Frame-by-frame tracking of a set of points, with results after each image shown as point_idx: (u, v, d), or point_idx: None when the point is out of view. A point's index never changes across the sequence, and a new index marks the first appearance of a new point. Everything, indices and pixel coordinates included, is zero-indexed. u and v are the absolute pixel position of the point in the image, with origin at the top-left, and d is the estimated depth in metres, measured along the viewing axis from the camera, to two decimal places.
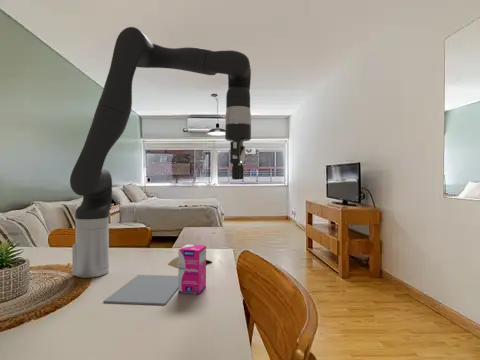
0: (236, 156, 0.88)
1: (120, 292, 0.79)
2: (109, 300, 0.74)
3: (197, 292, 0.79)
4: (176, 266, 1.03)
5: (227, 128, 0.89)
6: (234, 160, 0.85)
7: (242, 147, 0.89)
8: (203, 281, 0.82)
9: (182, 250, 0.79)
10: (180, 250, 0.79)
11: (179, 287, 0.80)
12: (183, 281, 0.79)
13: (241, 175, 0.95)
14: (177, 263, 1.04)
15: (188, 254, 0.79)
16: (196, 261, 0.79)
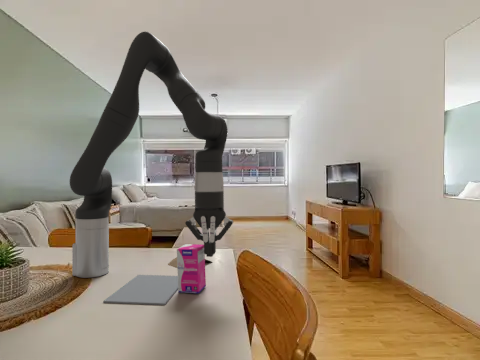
0: (194, 227, 0.82)
1: (120, 292, 0.79)
2: (109, 300, 0.74)
3: (197, 291, 0.79)
4: (176, 266, 1.03)
5: None
6: None
7: (201, 217, 0.80)
8: (203, 280, 0.82)
9: (180, 250, 0.79)
10: (178, 250, 0.80)
11: (179, 287, 0.80)
12: (182, 281, 0.80)
13: None
14: None
15: (186, 253, 0.79)
16: (195, 260, 0.79)
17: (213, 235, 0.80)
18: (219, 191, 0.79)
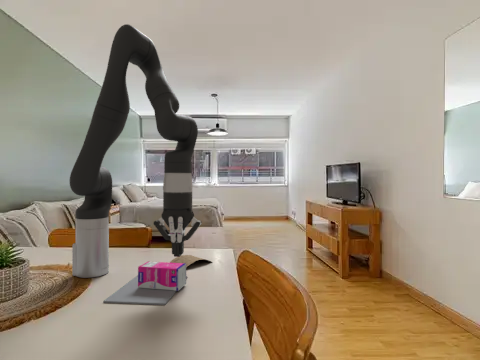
0: (163, 227, 0.82)
1: (120, 292, 0.79)
2: (109, 300, 0.74)
3: (176, 270, 0.80)
4: None
5: None
6: None
7: (169, 217, 0.81)
8: (174, 264, 0.84)
9: (138, 283, 0.82)
10: (138, 285, 0.82)
11: (172, 289, 0.80)
12: (167, 284, 0.80)
13: None
14: None
15: (141, 277, 0.82)
16: (147, 269, 0.81)
17: (181, 235, 0.81)
18: (187, 192, 0.80)
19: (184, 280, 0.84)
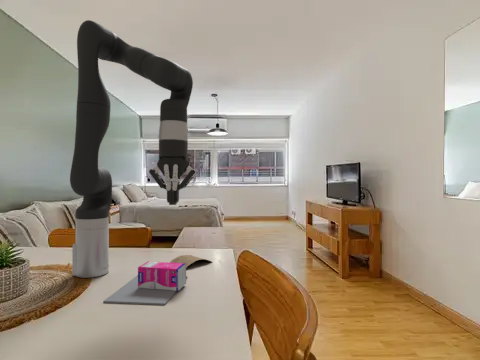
0: None
1: (120, 292, 0.79)
2: (109, 300, 0.74)
3: (176, 270, 0.80)
4: None
5: None
6: None
7: None
8: (174, 265, 0.84)
9: (138, 283, 0.82)
10: (138, 285, 0.82)
11: (172, 289, 0.80)
12: (167, 285, 0.80)
13: None
14: None
15: (141, 277, 0.82)
16: (147, 269, 0.81)
17: (176, 183, 0.82)
18: (182, 139, 0.81)
19: (184, 280, 0.84)
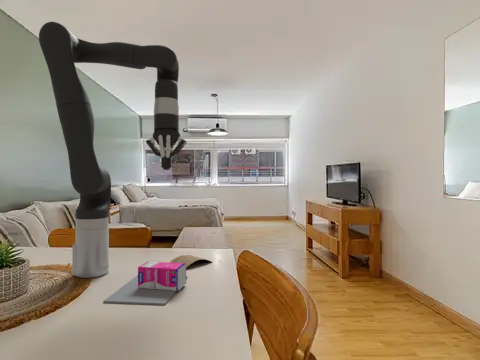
0: None
1: (120, 292, 0.79)
2: (109, 300, 0.74)
3: (176, 270, 0.80)
4: None
5: None
6: None
7: None
8: (174, 265, 0.84)
9: (138, 283, 0.82)
10: (138, 285, 0.82)
11: (172, 289, 0.80)
12: (167, 285, 0.80)
13: None
14: None
15: (141, 277, 0.82)
16: (147, 269, 0.81)
17: (169, 151, 0.96)
18: (173, 114, 0.95)
19: (184, 280, 0.84)
